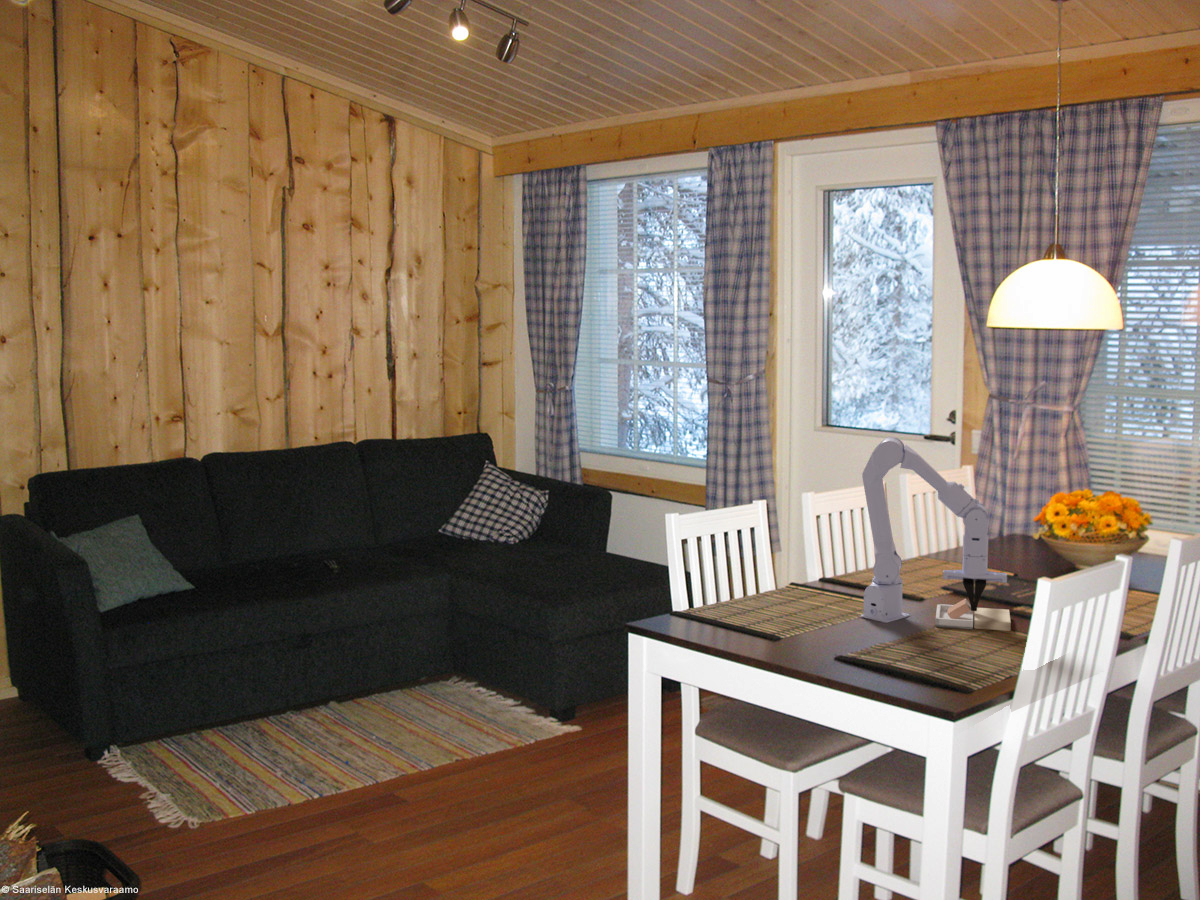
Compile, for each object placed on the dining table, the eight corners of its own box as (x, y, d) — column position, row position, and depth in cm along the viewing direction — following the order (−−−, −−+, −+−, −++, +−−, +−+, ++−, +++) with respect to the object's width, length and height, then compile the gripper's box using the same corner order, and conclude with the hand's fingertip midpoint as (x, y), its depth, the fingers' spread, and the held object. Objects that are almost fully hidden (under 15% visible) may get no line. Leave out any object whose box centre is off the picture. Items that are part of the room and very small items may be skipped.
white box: (974, 628, 262) (974, 620, 261) (974, 615, 273) (974, 607, 273) (1010, 630, 259) (1010, 622, 259) (1008, 617, 270) (1009, 609, 270)
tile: (952, 620, 267) (947, 613, 267) (952, 615, 271) (947, 608, 271) (970, 610, 265) (965, 603, 265) (970, 605, 270) (965, 598, 270)
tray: (935, 626, 264) (935, 618, 263) (937, 611, 277) (937, 603, 276) (973, 629, 261) (973, 621, 261) (972, 614, 274) (973, 606, 274)
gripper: (1006, 552, 267) (1005, 607, 269) (943, 549, 272) (942, 603, 273) (1007, 558, 260) (1006, 615, 262) (943, 555, 265) (942, 610, 266)
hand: (973, 609), depth 267 cm, fingers closed
